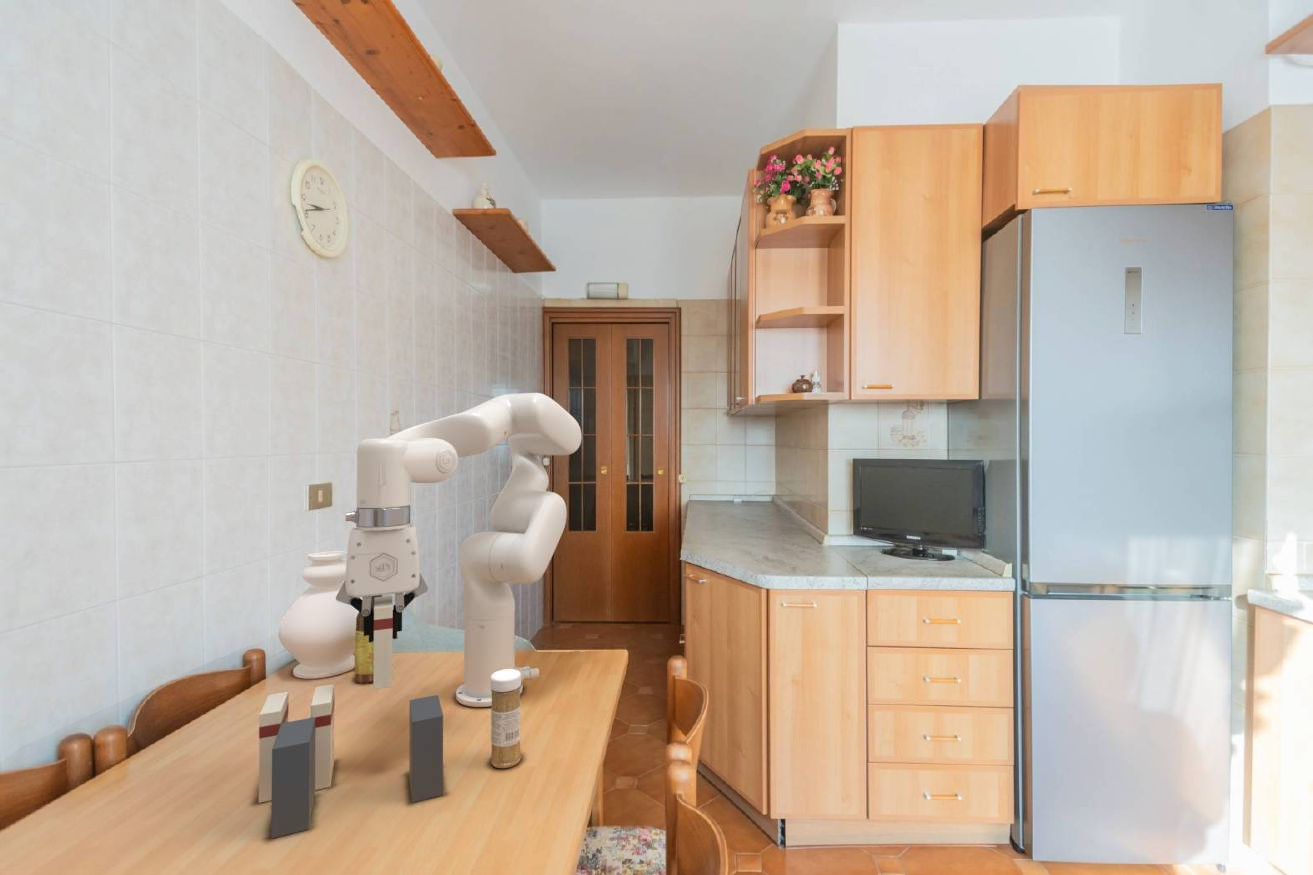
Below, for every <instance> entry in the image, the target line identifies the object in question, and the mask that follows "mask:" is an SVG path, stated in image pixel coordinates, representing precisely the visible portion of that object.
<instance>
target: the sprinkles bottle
mask: <svg viewBox="0 0 1313 875" xmlns="http://www.w3.org/2000/svg"><path fill="white" fill-rule="evenodd" d="M520 685H521V673H520V672H519V671H518V670H515V669H504V670H499V671H497V672H495V673H493V674H492V675H491V679H490V688H491V691H492V706H490V724H491V725H490V737H491V738H490V741H491V742H490V743H491V758H490V763H491V765H492V766H493V767H495V768H497V769H508V768H511V767H514V766H516V765H517V764H518V763H519V762H520V761H521V759H522V754H521V694H520Z"/></svg>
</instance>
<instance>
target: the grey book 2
mask: <svg viewBox="0 0 1313 875" xmlns="http://www.w3.org/2000/svg"><path fill="white" fill-rule="evenodd" d="M408 708H409V709H408V710H409V713H408V714H409V715H408V716H409V718H408V721H409V723H408V725H409V726H408V727H409V728H408V730H409V733H408V735H409V736H408V737H409V738H408V744H409V746H408V747H409V749H408V750H409V751H408V752H409V754H408V757H409V758H408V760H409V761H408V765H409V766H408V769H409V770H408V775H409V786H410V800H411V803H412V804H413V803H418V802H421V801H426V800H429V799H433V798H436V797H441V796H443V795H444V713H443V709H442V705H441V701H440V696H439V694H435V695H429V696H425V697H424V696H423V697H418V698H412V699H409V706H408Z"/></svg>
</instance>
